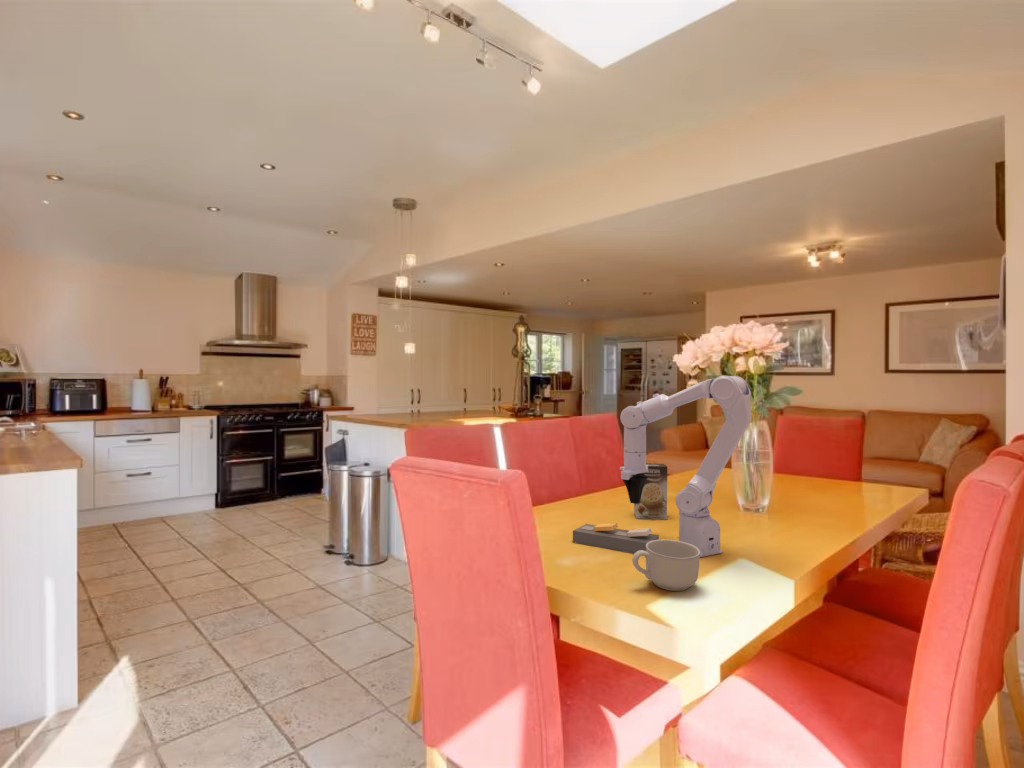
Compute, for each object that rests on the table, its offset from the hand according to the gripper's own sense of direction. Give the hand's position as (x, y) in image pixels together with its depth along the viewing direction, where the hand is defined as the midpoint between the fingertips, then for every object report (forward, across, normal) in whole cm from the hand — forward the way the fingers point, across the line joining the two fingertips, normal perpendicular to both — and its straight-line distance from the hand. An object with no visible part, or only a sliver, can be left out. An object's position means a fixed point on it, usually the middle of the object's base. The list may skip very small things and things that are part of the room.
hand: (635, 502), depth 145 cm
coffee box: (+10, -24, -4) cm, 27 cm away
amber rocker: (+6, +8, -5) cm, 11 cm away
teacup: (+10, +28, +17) cm, 35 cm away
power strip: (+9, +8, -2) cm, 12 cm away
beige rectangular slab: (+6, +8, +4) cm, 11 cm away
